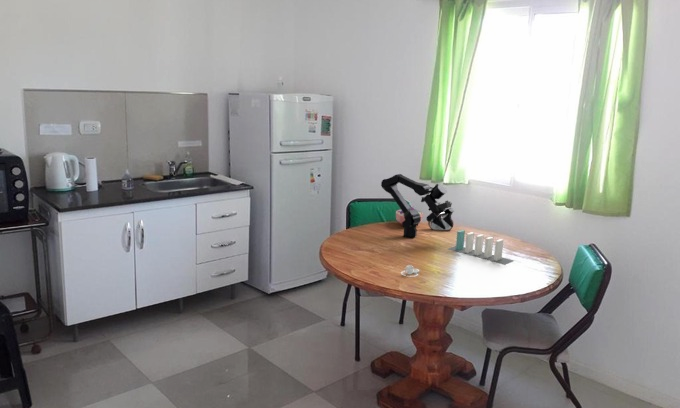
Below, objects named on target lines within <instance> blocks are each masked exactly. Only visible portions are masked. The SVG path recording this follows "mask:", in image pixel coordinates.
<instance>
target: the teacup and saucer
mask: <svg viewBox="0 0 680 408" xmlns="http://www.w3.org/2000/svg"><path fill="white" fill-rule="evenodd" d="M403 269H404V270H402V271H400V274H401V275H402V276H404V277H407V278H409V277H411V278H414V277H418V276H419V273H420V269H418V268H414V266H413V265H412V264H408V265H407V264H406V267H404V268H403ZM404 273H405V274H404ZM406 274H407V276H406ZM413 274H414V275H413Z"/></svg>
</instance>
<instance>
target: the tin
mask: <svg viewBox="0 0 680 408" xmlns="http://www.w3.org/2000/svg"><path fill="white" fill-rule="evenodd" d="M441 220H442V222H443V224H444V225H445V228H446V229H443V228H441V227H439V226H438V225H436V224H434V223H431V222H432V221H433V220H432V221H431V222H428V221H427V224H428V227H429V228H430V229H431V230H432V231H442V232H443V231H445V232H448V231H451V230H452V229H453V227H454V220H453V219H452V223H453V227H451V226H449V225H448V224H447V223H446V222H445V221H444V220H443V217H442V216H441Z"/></svg>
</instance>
